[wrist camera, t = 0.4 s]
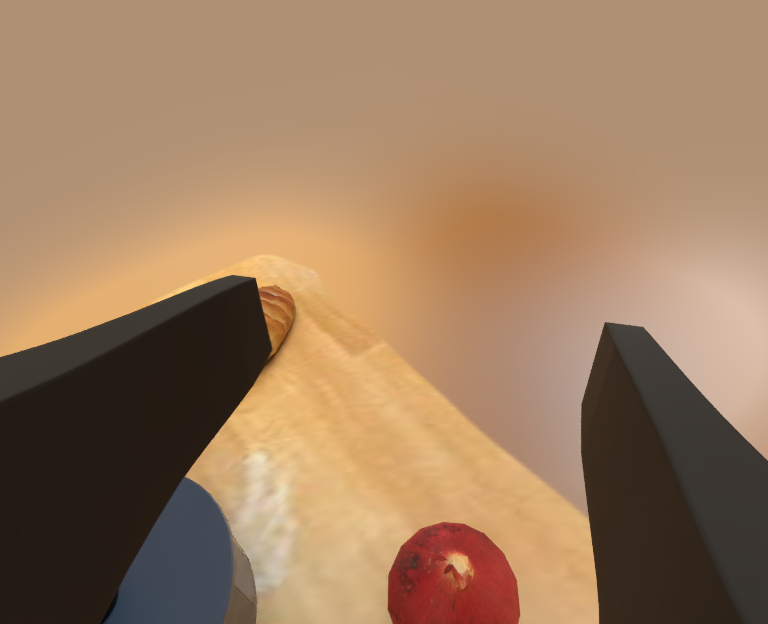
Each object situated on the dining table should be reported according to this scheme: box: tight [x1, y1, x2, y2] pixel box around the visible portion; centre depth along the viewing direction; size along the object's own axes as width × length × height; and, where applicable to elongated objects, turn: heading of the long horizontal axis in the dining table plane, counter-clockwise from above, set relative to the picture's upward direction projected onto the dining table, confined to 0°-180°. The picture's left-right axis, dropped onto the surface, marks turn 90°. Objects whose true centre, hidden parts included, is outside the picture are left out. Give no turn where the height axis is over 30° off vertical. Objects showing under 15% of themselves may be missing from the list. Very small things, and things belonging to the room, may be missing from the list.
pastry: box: [258, 285, 295, 359], centre depth 37 cm, size 9×7×4 cm
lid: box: [100, 477, 236, 624], centre depth 18 cm, size 12×12×5 cm
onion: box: [388, 522, 520, 624], centre depth 19 cm, size 6×6×8 cm
